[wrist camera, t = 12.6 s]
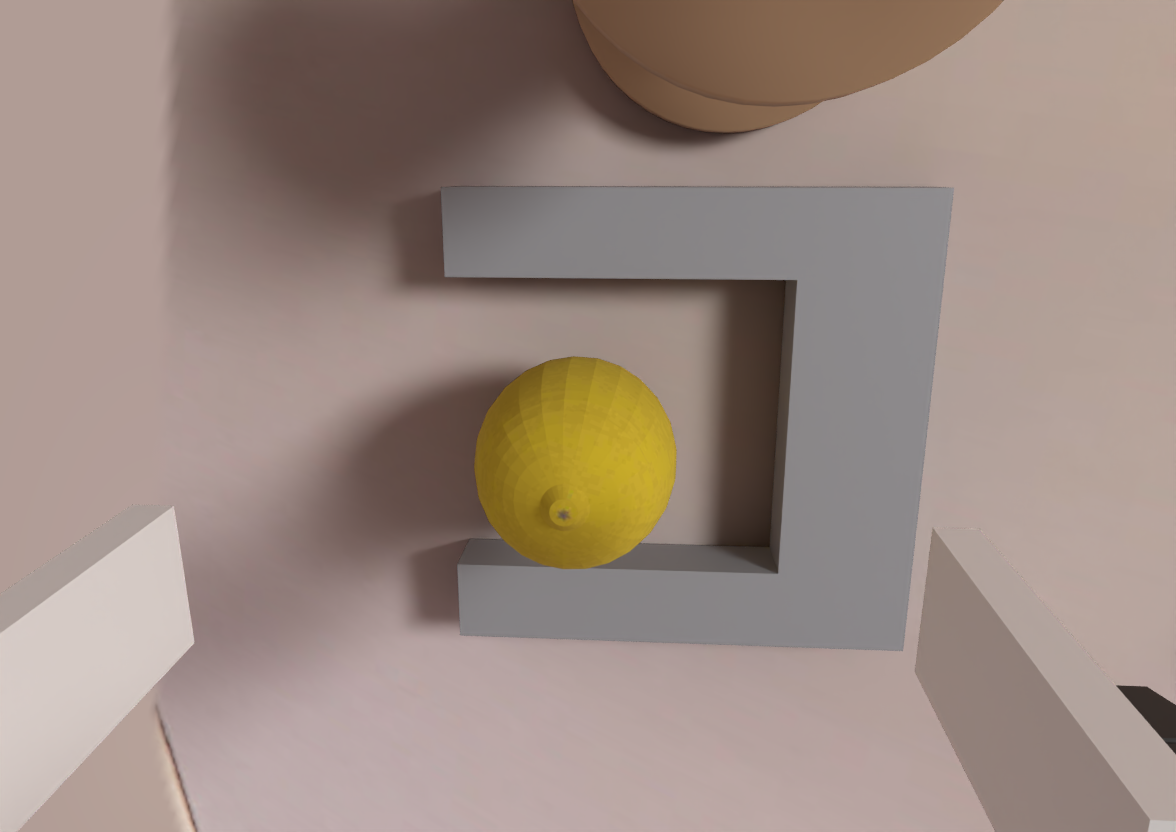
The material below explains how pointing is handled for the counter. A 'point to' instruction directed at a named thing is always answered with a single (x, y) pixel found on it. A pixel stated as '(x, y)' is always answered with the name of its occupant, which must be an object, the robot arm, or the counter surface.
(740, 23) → the bobbin
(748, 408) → the counter surface
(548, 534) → the lemon
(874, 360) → the notch board
